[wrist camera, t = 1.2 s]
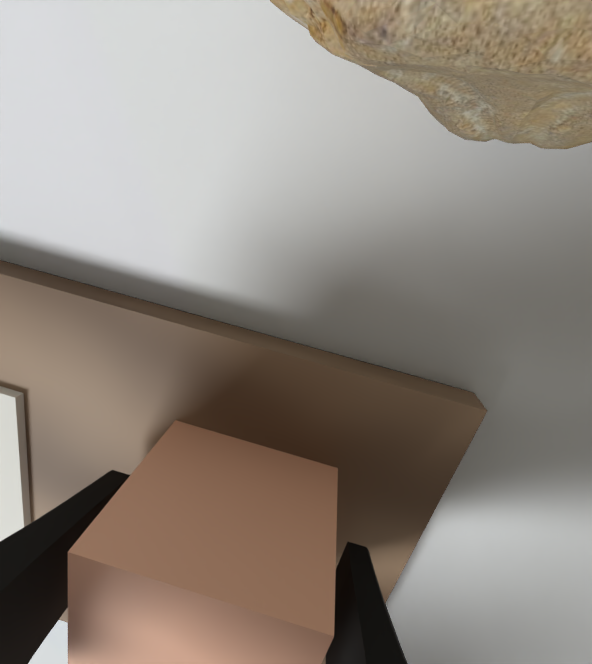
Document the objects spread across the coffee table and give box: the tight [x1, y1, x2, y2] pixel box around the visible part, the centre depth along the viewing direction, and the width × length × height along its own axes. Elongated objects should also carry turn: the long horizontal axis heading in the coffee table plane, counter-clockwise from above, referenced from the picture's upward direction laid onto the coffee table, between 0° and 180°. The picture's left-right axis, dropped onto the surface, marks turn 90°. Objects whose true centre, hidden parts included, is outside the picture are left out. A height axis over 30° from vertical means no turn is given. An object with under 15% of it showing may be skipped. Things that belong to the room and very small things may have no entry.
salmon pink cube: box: [68, 420, 338, 664], centre depth 10 cm, size 5×5×4 cm
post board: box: [0, 260, 487, 664], centre depth 11 cm, size 16×24×4 cm, turn 76°
